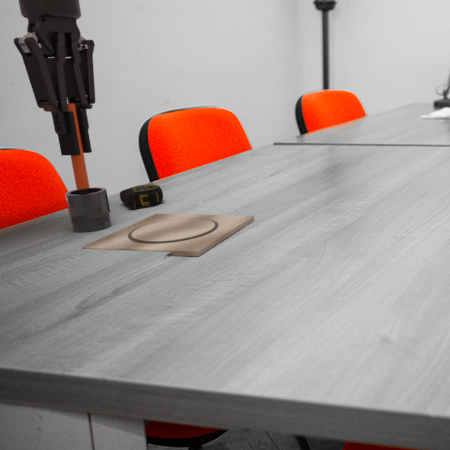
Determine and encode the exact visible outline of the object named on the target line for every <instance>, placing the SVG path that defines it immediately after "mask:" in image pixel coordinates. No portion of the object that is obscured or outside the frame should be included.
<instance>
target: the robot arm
mask: <svg viewBox="0 0 450 450" xmlns="http://www.w3.org/2000/svg"><path fill="white" fill-rule="evenodd" d="M18 6H19V11H20V15H21V16H22V17H23V18H25V19H27V26H26V32H27V33H26V34H25V35H23V36H22V37H14V39H13V44H14V46H15V47H16V49H17V51H18V53H19V54H20V55H21V58H22V61H23V64H24V68H25V71H26V74H27V77H28V80H29V83H30V86H31V87H30V88H31V90H32V93H33V96H34V99H35V102H36V106H37V107H38V108H39V109H43V111H44V112H46V113H51V118H52V123H53V127H54V128H53V129H54V132H55V134H56V135H57V138H58V144H59V148H60V155H61V156H71V155H73V156H77V155H81V153H80V148H79V142H78V136H77V131H76V125H75V120H74V114H73V111H67V110H68V103H74V104H75V107H76V113H77V119H78V124H79V130H80V136H81V141H82V147H83V153H84V154H90V153H93V151H92V145H91V139H90V132H89V129H90V124H89V117H88V111H87V110H91V109H93V105H94V104H96V85H95V71H94V57H93V56H94V51H95V45H96V44H95V41H94V40H93V39H86V38H85V37H83V36H82V35H81V33H82V32H81V30H80V28H79V25H78V24H77V20H79V19H80V18H81V17H82V10H81V3H80V0H18Z"/></svg>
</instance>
